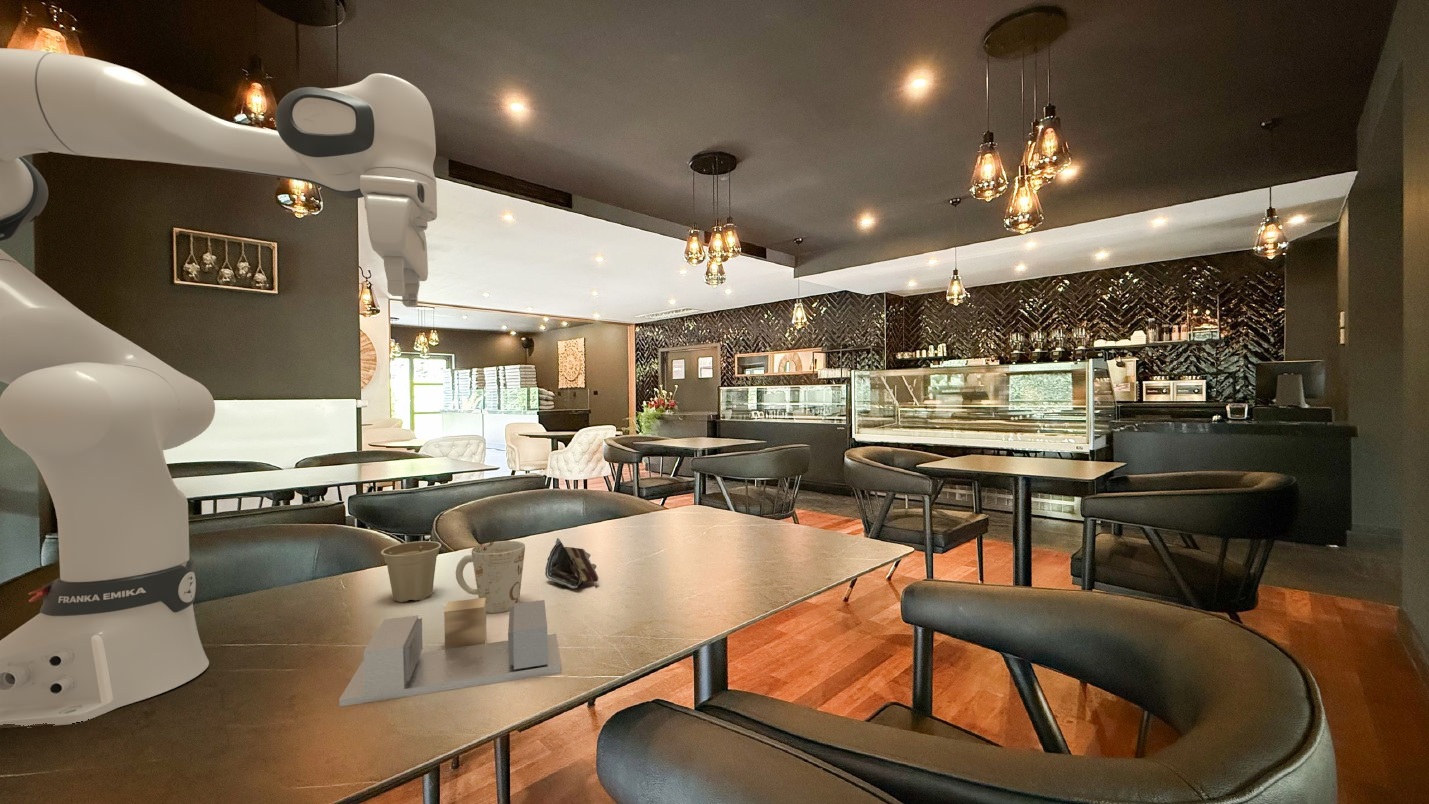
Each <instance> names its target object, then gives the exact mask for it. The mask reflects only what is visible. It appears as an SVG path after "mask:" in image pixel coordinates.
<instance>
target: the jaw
mask: <svg viewBox="0 0 1429 804" xmlns="http://www.w3.org/2000/svg"><path fill="white" fill-rule="evenodd" d="M545 603H546V601H545V599H540V600H531V601H526V602H519V603H516V604H514V607H510V610H509V614H508V615H509V616H508V627H507V628H508V631H507V639H508V640H507V641H508V652H509V666H510V665H514V669H520V668H527V667H533V666H540V665H546V664H548V638H547V635H548V620H547V611H546V610H547V609H546V604H545Z"/></svg>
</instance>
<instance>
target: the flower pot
mask: <svg viewBox="0 0 1429 804" xmlns="http://www.w3.org/2000/svg"><path fill="white" fill-rule="evenodd" d="M441 547H442V543H440V542H438V541H429V540H427V541H426V540H422V541H421V540H419V541H410V542H402V543H399V544H394V545H391V546H389V547H386V548H384V549H382V550H381V551H380V554H381V556H383V559H384V562H385V563H386V566H387V571H388V572H387V573H388V576H389V577H388V578H389V583H390V588H391V593H392V598H393V600H394V601H396V602H401V603H405V602H408V601H410V600H411V601H412V600H413V601H419V600H422V599H425V598H428V597H430V596H431V595H432V593H433V591H434V579H435V573H436V564H437V557H438V555H439V552H440V549H441Z"/></svg>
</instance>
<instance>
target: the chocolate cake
mask: <svg viewBox="0 0 1429 804" xmlns="http://www.w3.org/2000/svg"><path fill="white" fill-rule="evenodd" d="M591 555H592V554H590V553H589V552H587V551H586V550H585V549H584V548H579V547H572V546H571V547H570V546H565V545H564V544H563V542H562V540H561V539H560V538H559V537H557V538H556V540H555V544H554V546H553V547H552V549H551V550H550V553H549V556H548V558H547V562H546V566H545V572H544V576H545V578H546V579H548V580H550V581H552V582H556V583H558V584H559V585H564V586H566V587H568V588H570V589H576V588H578V587H579V586H580V585H581V584H582V582H598V581H599V576H598V573H597V571H596V569H597V565H596V564H595V563H592V562H591V560H590V557H591Z"/></svg>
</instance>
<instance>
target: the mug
mask: <svg viewBox="0 0 1429 804" xmlns="http://www.w3.org/2000/svg"><path fill="white" fill-rule="evenodd" d="M525 550H526V544H525V543H524V542H522V541H517V540H501V541H490V542H486V543H482V544H478V545H476V546H474V547H472V549H471V554H468V555H464V556H463V557H462V558H461V559H460V560H459V562H458V563H457V565H456V569H455V578H456V581H457V583H458V585H459V587H460V588H461V589H462V590H463V591H465V592H466V593H467V594H470V595H472V596H473V595H474V596H478V598H486V614H498V613H500V614H501V613H504V612H508V611H509V612H510V607H514V604H516V603H520V598H521V589H522V579H523V570H524V561H525V554H526V553H525ZM470 563H472V564H473V565H472V566H473V571H474V577H475V583H476V588H472V587H470V585H468V584H467V582H466V580H465V578H464V573H463V572H464V569H465V567H466V566H467V564H470Z"/></svg>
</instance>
